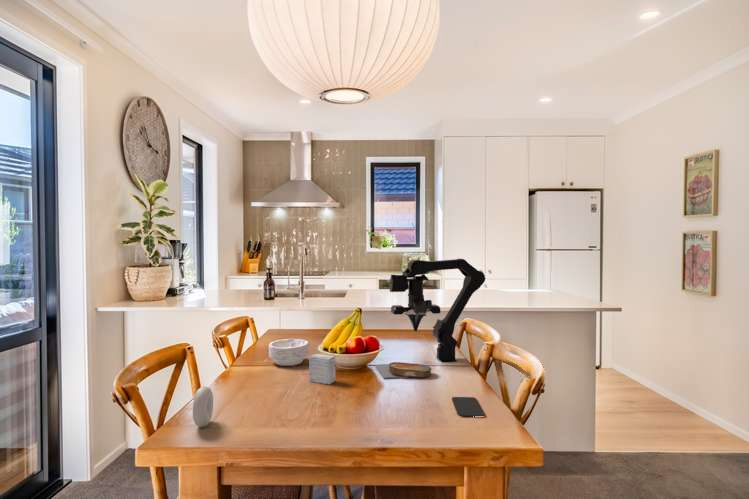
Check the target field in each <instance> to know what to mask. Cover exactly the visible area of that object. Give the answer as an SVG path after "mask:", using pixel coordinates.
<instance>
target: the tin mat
mask: <svg viewBox="0 0 749 499" xmlns="http://www.w3.org/2000/svg"><path fill="white" fill-rule="evenodd" d="M389 364H390V363H385V364H383V363H380V364H374V367H375V369H376V370H377V372H378V373H379V374H380V377H382V378H383V380H391V379H409V378H410V377H409V376H399V375H394V374H392V373H390V371H389Z"/></svg>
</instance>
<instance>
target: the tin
mask: <svg viewBox="0 0 749 499" xmlns="http://www.w3.org/2000/svg"><path fill="white" fill-rule="evenodd" d="M388 364H389V371H390V373H392V374H394V375H399V376H409V378H410V377H411V378H420V379H421V378H422V379H423V378H424V379H425V378H429V377H431V375H432V368H431V367H430V366H428V365H425V364H420V363H410V362H400V361H399V362H398V361H397V362H396V361H395V362H390V363H388Z"/></svg>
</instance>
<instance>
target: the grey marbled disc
mask: <svg viewBox="0 0 749 499" xmlns="http://www.w3.org/2000/svg"><path fill="white" fill-rule="evenodd" d="M196 390H197V391H196V392H195V395H194V398H193V401H192V418H193V422H194V424H195V426H197V427H199V428H204V427H206V426H207V425H208V424H209V423H210V422H211V419H212V416H213V411H214V395H213V391H212V389H211V388H210V387H209V386H205V385H204V386H201V387H200V388H198V389H196Z"/></svg>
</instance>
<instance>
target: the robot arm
mask: <svg viewBox="0 0 749 499" xmlns="http://www.w3.org/2000/svg"><path fill="white" fill-rule="evenodd" d="M456 269H457V270H458V271H459V272H460V273H461V274H462V275H463V276H464V279H463V282H462V283H463V284H462V288H461V290H460V292H459V293H458V294H457V296H456V298H455V300H454V302H453V303H452V305H451V307H450V308H449V310H448V312H447V313H446V315H445V317H444V318H442V319H439V318H438V319H437V320H436V323H435V324H434V326H432V328H433V330H432V336H433V337H434V338H435V339H436V342H437V343H438V344H437V347H436V359H437V360H438V361H440V362H441V363H447V362H448V363H449V362H451V363H452V362H457V361H458V360H457V359H456V347H457V345H458V341H457V340H456V339H455V338H454V337H453V335H454V332H455V326H456V325H455V324H456V323H457V321H458V319H459V318H460V316H461V314H462V313H463V311H464V309H465V308H466V306H467V304H468V303H469V300H470V299H471V297H472V295H473V294H474V293H475V292H476V291H477V290H479V289H480V288H481V287H482V286H483V285H484V284H485V281H486V276H485V272H483V271H481V270H478V269H477V268H475V266H473V265H471V264H470V263H469V262H468V261H467V260H466V259H464V258H456V259H455V258H454V259H443V260H442V259H441V260H422V259H421V260H420V259H411V260H410V261H409V262H408V263H407V267H406V269H405V270H404V272H403V273H402V274H390V278H389V282H388V288H389V292H390V293H405V292H406V291H407V290H408V293H407V298H408V301H407V302H408V303H407V307H406V306H403V305H401V304H397V305H396V304H395V305H394V304H393V305H391V307H390V312H391V314H393V315H403V314H405V315H406V316H407V317H408V319H409V320H410V323H411V325H412V330H413V332H417V331H418V329H419V326H420V324H421V321H422V319H423V317H426V316H427V312H431V313H432V314H433V315H435V314H441V307H440V305H437V304H433V301H432V299H426V300H425V295H424V281H429V278H428V277H427V276H426V275H425V274H428V273H430V272H434V271H446V270H447V271H448V270H456Z"/></svg>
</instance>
